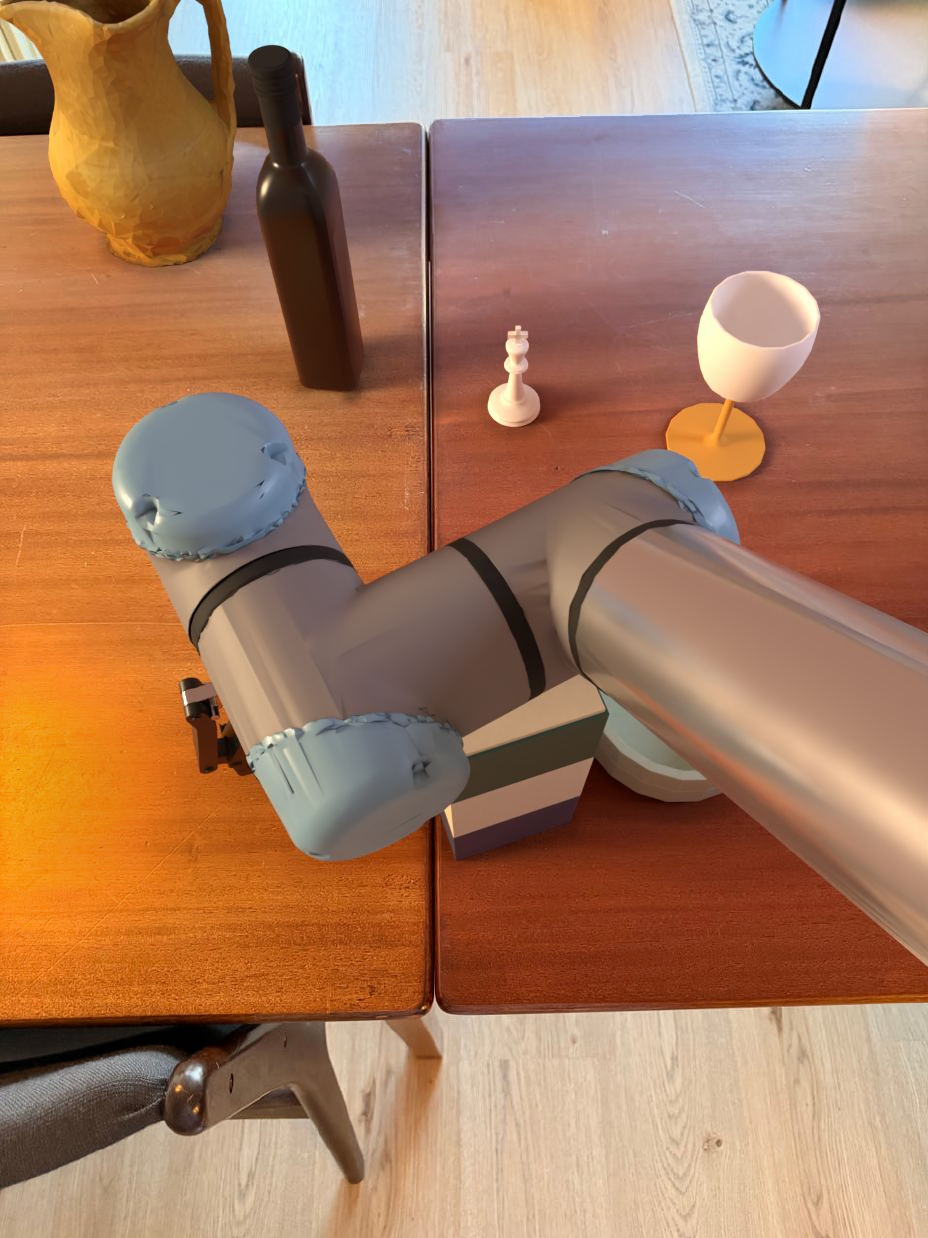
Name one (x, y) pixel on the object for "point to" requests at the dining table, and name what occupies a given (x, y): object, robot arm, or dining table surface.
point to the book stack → (523, 787)
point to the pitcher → (135, 123)
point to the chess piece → (515, 387)
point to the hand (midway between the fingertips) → (331, 755)
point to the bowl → (647, 760)
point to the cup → (743, 368)
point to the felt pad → (538, 715)
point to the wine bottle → (305, 234)
